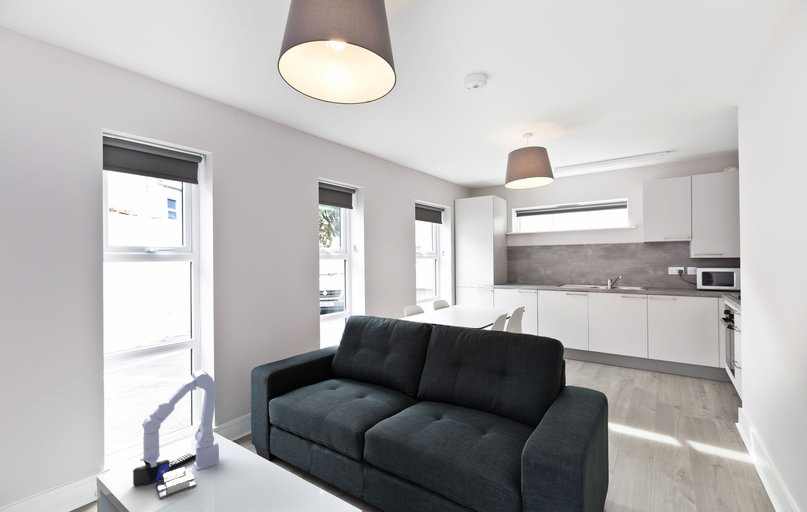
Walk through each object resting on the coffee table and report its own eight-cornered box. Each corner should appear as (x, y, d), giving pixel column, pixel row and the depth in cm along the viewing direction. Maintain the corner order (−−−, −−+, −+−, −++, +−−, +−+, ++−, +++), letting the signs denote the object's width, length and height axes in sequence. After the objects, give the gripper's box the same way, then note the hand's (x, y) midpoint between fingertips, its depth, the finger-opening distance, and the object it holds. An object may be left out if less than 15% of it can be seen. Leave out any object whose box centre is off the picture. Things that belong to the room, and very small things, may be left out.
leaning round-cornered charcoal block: (133, 490, 158) (132, 471, 158) (133, 485, 161) (133, 467, 161) (169, 479, 165) (169, 461, 165) (169, 475, 168) (169, 458, 168)
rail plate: (190, 475, 168) (190, 464, 168) (196, 487, 159) (196, 476, 159) (156, 486, 159) (156, 475, 159) (160, 500, 150) (160, 488, 150)
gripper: (138, 442, 166) (138, 472, 166) (142, 455, 155) (142, 487, 154) (157, 437, 170) (157, 466, 170) (162, 449, 159) (162, 481, 159)
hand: (151, 476), depth 163 cm, fingers open, 7 cm apart
